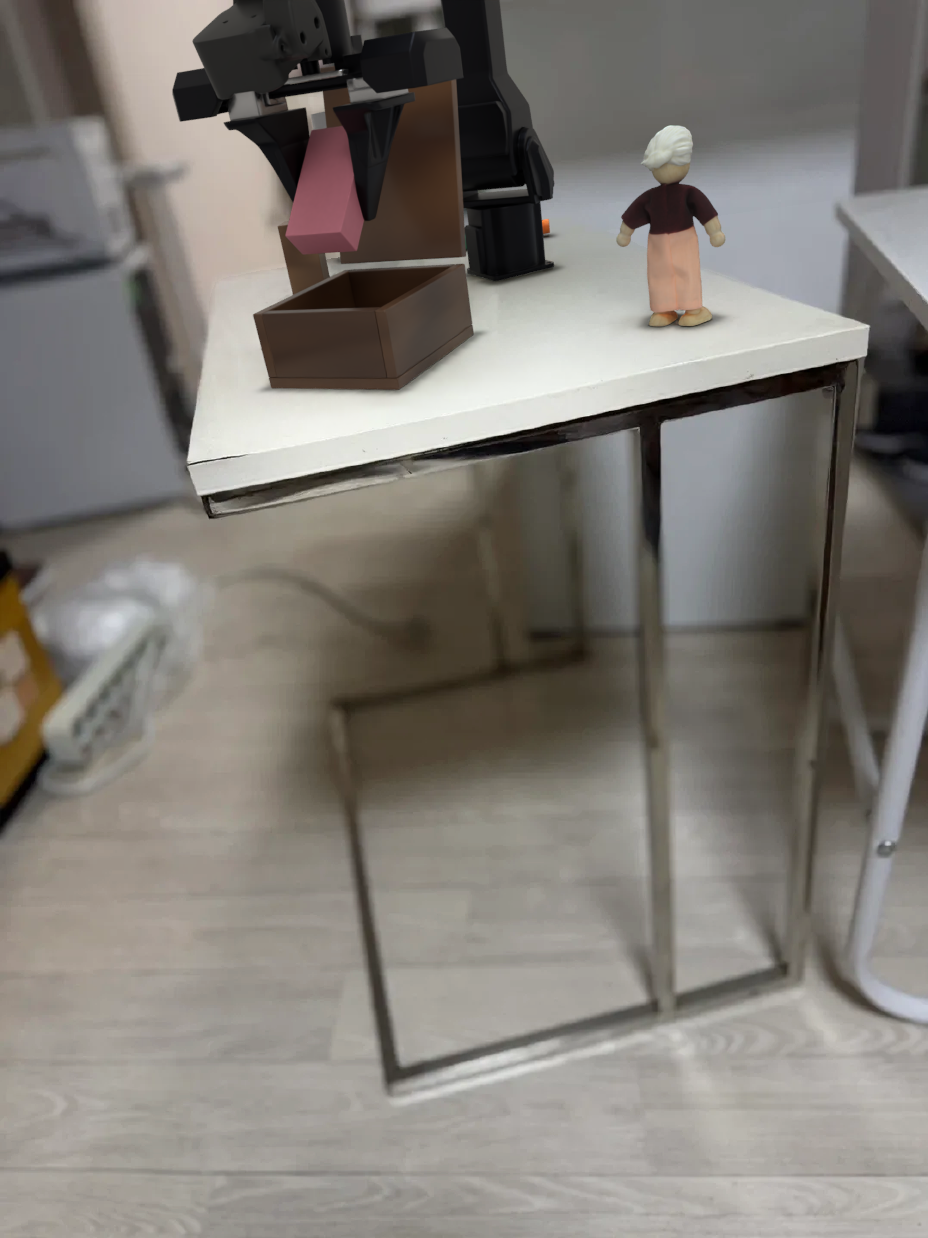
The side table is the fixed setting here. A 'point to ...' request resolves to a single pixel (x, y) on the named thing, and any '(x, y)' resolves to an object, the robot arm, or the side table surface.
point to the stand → (302, 264)
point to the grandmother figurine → (672, 230)
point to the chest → (366, 328)
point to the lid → (415, 181)
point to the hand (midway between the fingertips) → (340, 222)
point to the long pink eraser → (326, 197)
